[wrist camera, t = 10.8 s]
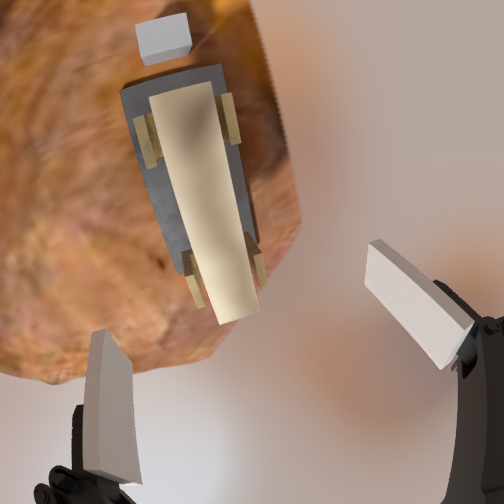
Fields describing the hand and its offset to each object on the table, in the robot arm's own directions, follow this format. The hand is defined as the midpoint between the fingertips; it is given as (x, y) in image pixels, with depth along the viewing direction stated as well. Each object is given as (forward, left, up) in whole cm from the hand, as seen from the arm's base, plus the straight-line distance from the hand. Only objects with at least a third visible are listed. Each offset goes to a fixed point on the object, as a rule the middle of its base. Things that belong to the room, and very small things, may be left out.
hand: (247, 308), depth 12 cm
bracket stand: (0, 0, -25) cm, 25 cm away
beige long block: (0, 0, -15) cm, 15 cm away
